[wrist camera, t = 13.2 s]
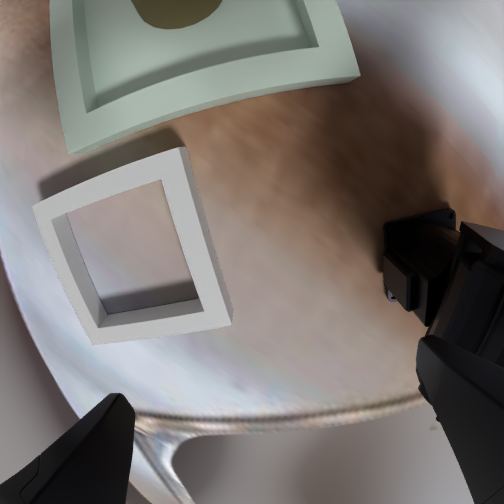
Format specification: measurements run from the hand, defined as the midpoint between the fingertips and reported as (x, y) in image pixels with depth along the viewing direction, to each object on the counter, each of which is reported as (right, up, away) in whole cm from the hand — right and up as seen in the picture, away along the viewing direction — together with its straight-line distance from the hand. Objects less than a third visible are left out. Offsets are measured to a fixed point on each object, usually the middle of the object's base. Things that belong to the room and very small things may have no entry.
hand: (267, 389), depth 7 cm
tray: (-5, +21, +6) cm, 22 cm away
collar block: (-9, +4, +13) cm, 16 cm away
